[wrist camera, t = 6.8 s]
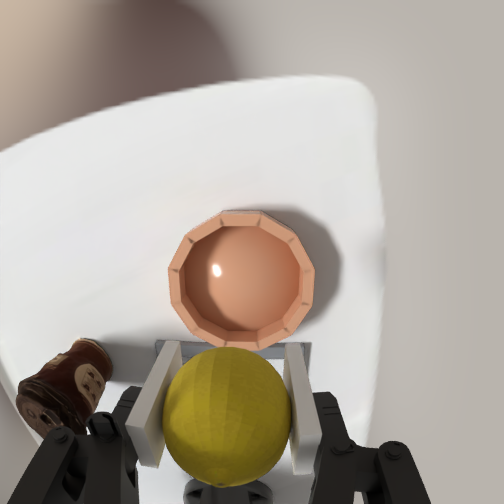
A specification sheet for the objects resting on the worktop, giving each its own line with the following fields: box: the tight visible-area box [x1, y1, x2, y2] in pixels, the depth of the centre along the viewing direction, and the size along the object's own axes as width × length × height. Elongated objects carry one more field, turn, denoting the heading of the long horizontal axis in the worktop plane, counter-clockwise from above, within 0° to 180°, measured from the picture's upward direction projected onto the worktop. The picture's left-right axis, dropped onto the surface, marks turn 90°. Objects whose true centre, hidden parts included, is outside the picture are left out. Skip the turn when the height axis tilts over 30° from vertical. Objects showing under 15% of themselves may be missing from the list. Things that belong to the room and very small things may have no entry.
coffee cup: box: [16, 339, 113, 439], centre depth 26 cm, size 9×8×13 cm
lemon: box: [162, 347, 291, 488], centre depth 12 cm, size 6×6×8 cm
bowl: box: [168, 211, 315, 351], centre depth 28 cm, size 13×13×3 cm
